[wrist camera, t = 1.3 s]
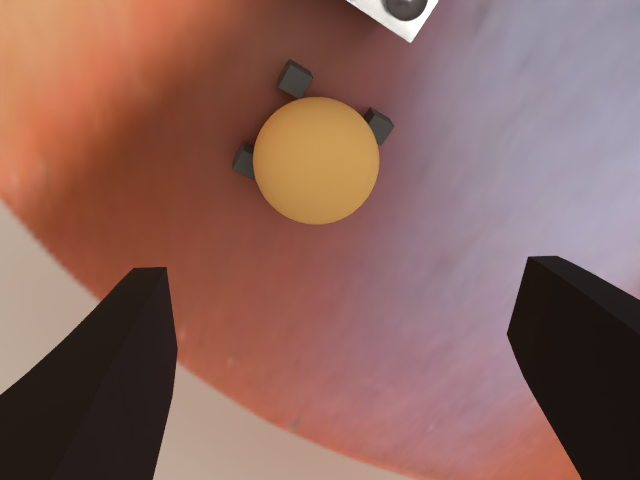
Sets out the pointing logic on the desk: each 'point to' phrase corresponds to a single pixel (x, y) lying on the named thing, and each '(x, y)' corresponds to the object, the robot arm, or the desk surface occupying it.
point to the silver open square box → (398, 14)
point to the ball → (316, 160)
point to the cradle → (296, 84)
